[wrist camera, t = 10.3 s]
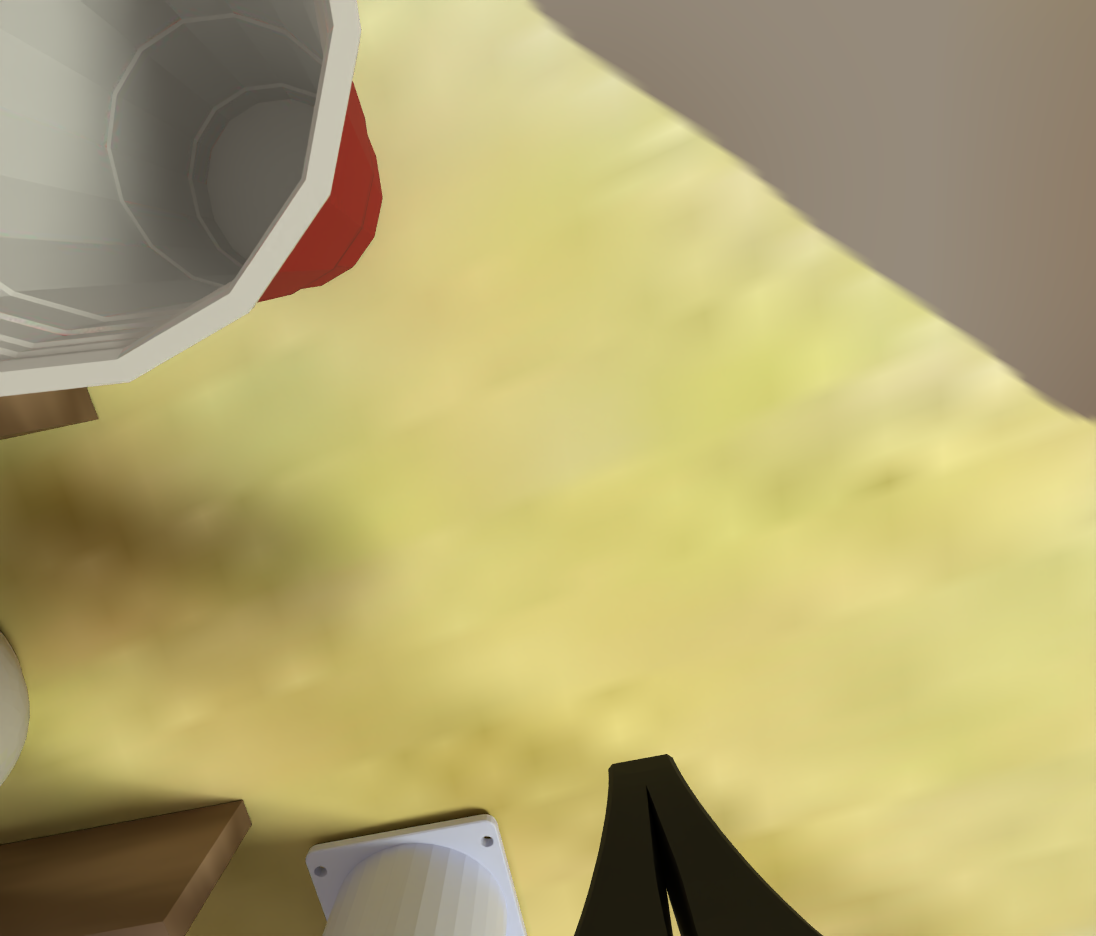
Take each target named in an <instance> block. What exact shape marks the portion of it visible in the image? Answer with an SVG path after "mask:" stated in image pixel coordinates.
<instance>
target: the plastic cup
mask: <svg viewBox="0 0 1096 936" xmlns="http://www.w3.org/2000/svg"><path fill="white" fill-rule="evenodd" d="M360 36H361V25H360V19H359V13H358V7H357V1H356V0H0V397H1V396H10V395H19V394H28V393H37V392H46V391H55V390H64V389H73V388H82V387H91V386H100V385H109V384H118V383H127V382H131V381H132V380H134V379H136V378H138V377H139V376H141V375H143V374H144V373H146V372H148V371H150V370H151V369H153V368H155V367H156V366H158V365H160V364H162V363H163V362H165V361H167V360H168V359H170V358H172V357H174V356H175V355H177V354H179V353H180V352H182V351H184V350H186V349H187V348H189V347H191V346H192V345H194V344H196V343H198V342H199V341H201V340H203V339H204V338H206V337H208V336H210V335H211V334H213V333H215V332H216V331H218V330H220V329H222V328H223V327H225V326H227V325H228V324H230V323H232V322H234V321H235V320H237V319H239V318H240V317H242V316H244V315H246V314H247V313H249V312H250V311H251V310H252V309H253V308H254V306H255V305H256V303H257V302H261V301H266V300H270V299H274V298H278V297H282V296H287V295H291V294H293V293H295V292H297V291H298V290H300V289H304V288H310V287H316V286H322V285H324V284H325V283H327V282H329V281H330V280H332V279H334V278H335V277H337V276H339V275H340V274H342V273H344V272H345V271H347V270H349V269H350V268H352V267H353V266H354V265H355V264H356V262H357V261H358V260H359V258H360V257H361V255H362V254H363V252H364V251H365V250H366V248H367V247H368V245H369V244H370V242H371V241H372V240H373V238H374V236H375V231H376V227H377V222H378V217H379V213H380V208H381V203H382V191H381V185H380V179H379V172H378V166H377V160H376V155H375V153H374V150H373V148H372V145H371V143H370V140H369V138H368V135H367V129H366V122H365V117H364V114H363V111H362V108H361V105H360V102H359V99H358V96H357V93H356V90H355V87H354V84H353V81H352V79H353V74H354V69H355V64H356V58H357V53H358V48H359V43H360Z"/></svg>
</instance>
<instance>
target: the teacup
mask: <svg viewBox="0 0 1096 936" xmlns="http://www.w3.org/2000/svg"><path fill="white" fill-rule="evenodd" d="M29 718H30V708H29V697H28V691H27V686H26V683H25V680H24V677H23V674H22V671H21V667H20V664H19V661H18V658H17V656H16V654H15V653H14V651H13V649H12V647H11V645H10V644H9V642H8V641H7V639H6V638H5V637H4V635H3V634H2V633H1V632H0V786H1V785H2V784H3V782H4V781H5V780H6V778H7V777H8V775H9V774H10V772H11V771H12V769H13V767H14V766H15V764H16V762H17V760H18V758H19V756H20V753H21V751H22V749H23V746H24V743H25V740H26V737H27V731H28V725H29Z"/></svg>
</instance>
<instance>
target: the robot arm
mask: <svg viewBox="0 0 1096 936" xmlns="http://www.w3.org/2000/svg"><path fill="white" fill-rule="evenodd" d="M608 772H609V788H608V800H607V808H606V815H605V821H604V827H603V832H602V837H601V843H600V848H599V852H598V857H597V860H596V864H595V868H594V872H593V876H592V880H591V884H590V888H589V891H588V895H587V898H586V901H585V905H584V908H583V911H582V914H581V917H580V920H579V923H578V926H577V929H576V932H575V934H574V936H673V933H672V926H671V919H670V911H669V904H668V897H667V892H668V895H669V898H670V902H671V905H672V908H673V911H674V915H675V918H676V921H677V924H678V928H679V931H680V934H681V936H823V935H821V934H820V933H819V932H818V931H817V930H815V929H814V928H813V927H812V926H811V925H810V924H809V923H807V922H806V921H805V920H804V919H803V918H802V917H801V916H800V915H799V914H798V913H797V912H796V911H795V910H794V909H793V908H792V907H791V906H789V905H788V904H787V903H786V902H785V901H784V900H783V899H782V898H781V897H780V896H779V895H778V894H777V893H776V892H775V891H774V890H773V889H772V888H771V887H770V886H769V885H768V884H767V883H766V882H765V880H764V879H763V878H762V877H761V876H760V875H759V874H758V873H757V872H756V871H755V870H754V869H753V868H752V866H751V865H750V864H749V863H748V862H747V861H746V860H745V859H744V857H743V856H742V855H741V854H740V853H739V852H738V850H737V849H736V848H735V847H734V846H733V845H732V843H731V842H730V841H729V840H728V839H727V837H726V836H725V835H724V834H723V832H722V831H721V830H720V829H719V827H718V826H717V825H716V823H715V822H714V821H713V820H712V818H711V817H710V816H709V814H708V813H707V812H706V810H705V809H704V808H703V806H702V805H701V804H700V802H699V801H698V799H697V798H696V796H695V795H694V793H693V792H692V790H691V789H690V787H689V786H688V784H687V783H686V781H685V780H684V778H683V776H682V775H681V773H680V771H679V769H678V768H677V766H676V764H675V762H674V760H673V758H672V757H671V756H669V755H668V754H665V755H659V756H654V757H649V758H643V759H638V760H632V761H627V762H621V763H616V764H612V765H611V767H610V768H609V769H608ZM485 836H489V837H491V838H490V839H486V838H484V837H485ZM305 860H306V865H307V868H308V870H309V873H310V876H311V879H312V881H313V884H314V887H315V890H316V893H317V895H318V898H319V901H320V904H321V906H322V909H323V912H324V915H325V917H326V920H327V924H326V926H325V929H324V932H323V935H322V936H527V933H526V929H525V925H524V921H523V918H522V914H521V910H520V906H519V903H518V899H517V895H516V891H515V888H514V884H513V880H512V876H511V873H510V869H509V865H508V861H507V858H506V854H505V850H504V846H503V843H502V839H501V835H500V832H499V828H498V824H497V821H496V819H495V818H494V817H493V816H491V815H488V814H482V815H476V816H471V817H465V818H460V819H454V820H449V821H443V822H438V823H432V824H427V825H421V826H416V827H410V828H405V829H399V830H394V831H388V832H383V833H377V834H372V835H366V836H361V837H355V838H350V839H344V840H339V841H333V842H328V843H322V844H317V845H314V846H312V847H311V848H310V849H309V851H308V854H307V856H306V859H305ZM320 866H322V867H324V868H322V867H320ZM666 889H667V890H666Z"/></svg>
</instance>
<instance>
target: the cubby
mask: <svg viewBox="0 0 1096 936" xmlns="http://www.w3.org/2000/svg"><path fill="white" fill-rule="evenodd" d="M97 419H98V416H97V414H96V411H95V409H94V406H93V403H92V401H91V398H90V395H89V393H88V390H87V387H82V388H73V389H64V390H55V391H46V392H37V393H28V394H19V395H10V396H1V397H0V440H2V439H7V438H12V437H16V436H21V435H26V434H30V433H35V432H40V431H45V430H49V429H54V428H59V427H64V426H68V425H73V424H78V423H83V422H87V421H92V420H97ZM251 825H252V823H251V821H250V818H249V815H248V813H247V810H246V807H245V805H244V802H243V800H241V801H235V802H230V803H225V804H219V805H214V806H209V807H203V808H198V809H192V810H187V811H182V812H176V813H171V814H165V815H160V816H155V817H149V818H144V819H139V820H133V821H128V822H122V823H117V824H112V825H106V826H101V827H95V828H90V829H85V830H79V831H74V832H69V833H63V834H58V835H52V836H47V837H42V838H36V839H31V840H25V841H20V842H15V843H9V844H4V845H0V936H185V934H186V933H187V931H188V929H189V928H190V926H191V924H192V923H193V921H194V919H195V918H196V916H197V914H198V913H199V911H200V910H201V908H202V906H203V905H204V903H205V901H206V900H207V898H208V896H209V895H210V893H211V891H212V890H213V888H214V886H215V885H216V883H217V881H218V880H219V878H220V876H221V875H222V873H223V871H224V870H225V868H226V866H227V865H228V863H229V861H230V860H231V858H232V856H233V855H234V853H235V851H236V850H237V848H238V846H239V845H240V843H241V841H242V840H243V838H244V837H245V835H246V833H247V832H248V830H249V828H250V827H251Z"/></svg>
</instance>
